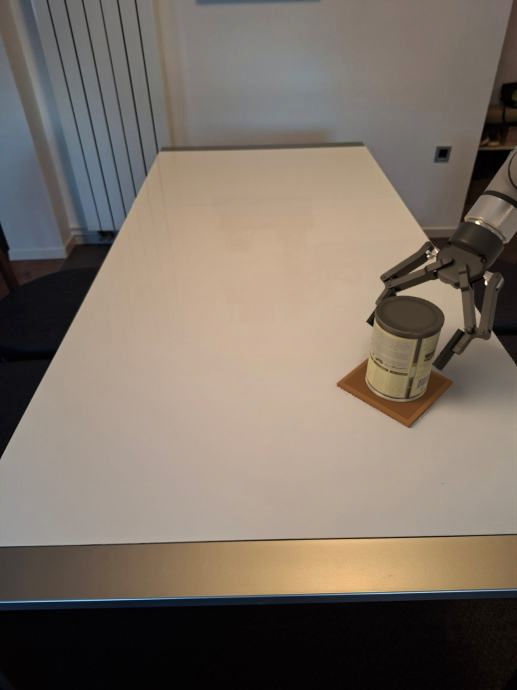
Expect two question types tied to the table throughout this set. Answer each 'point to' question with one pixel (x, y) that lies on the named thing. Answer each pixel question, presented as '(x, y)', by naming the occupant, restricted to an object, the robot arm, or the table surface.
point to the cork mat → (396, 410)
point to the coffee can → (403, 347)
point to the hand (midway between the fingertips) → (401, 345)
